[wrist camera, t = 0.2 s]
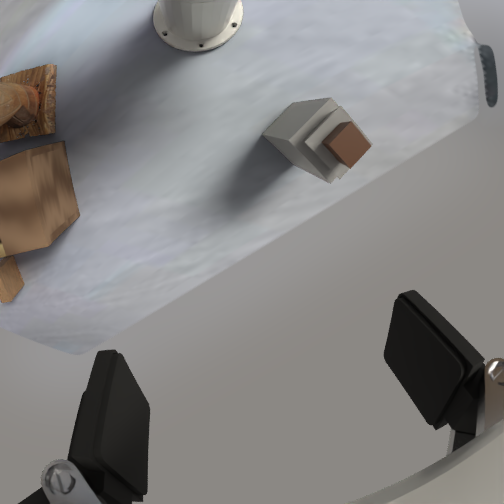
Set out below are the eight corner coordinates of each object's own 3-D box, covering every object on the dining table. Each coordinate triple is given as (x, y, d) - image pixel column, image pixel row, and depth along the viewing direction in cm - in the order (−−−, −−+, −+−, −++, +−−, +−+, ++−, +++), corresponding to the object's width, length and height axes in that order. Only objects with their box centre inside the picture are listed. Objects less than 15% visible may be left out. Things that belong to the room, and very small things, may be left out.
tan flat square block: (4, 257, 41) (-12, 272, 35) (13, 255, 41) (-3, 270, 35) (15, 285, 43) (2, 302, 38) (24, 284, 43) (10, 301, 38)
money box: (-22, 175, 33) (-64, 194, 23) (64, 140, 36) (24, 150, 25) (-6, 238, 39) (-42, 268, 28) (80, 215, 41) (48, 246, 30)
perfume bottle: (323, 134, 42) (391, 147, 26) (293, 164, 44) (348, 193, 28) (292, 102, 40) (351, 95, 24) (261, 134, 41) (303, 144, 25)
